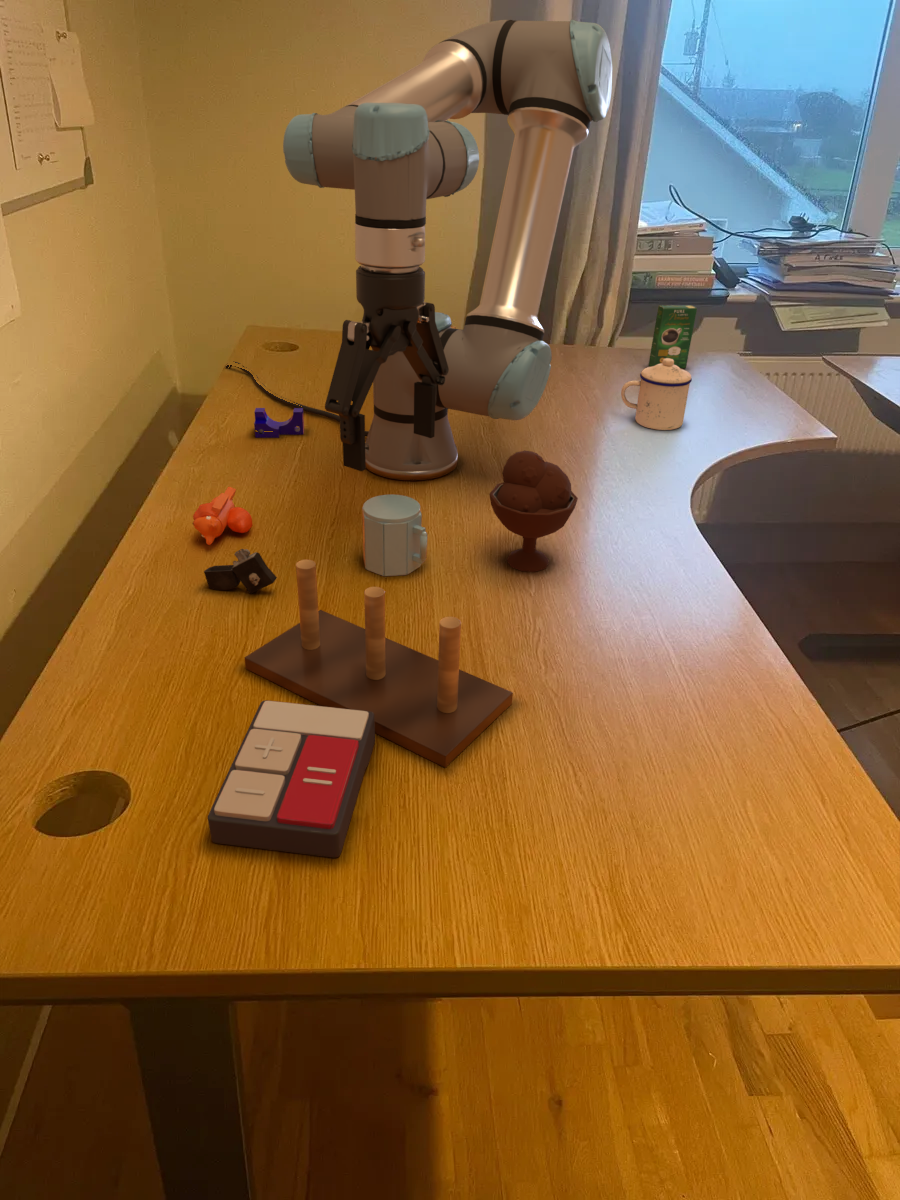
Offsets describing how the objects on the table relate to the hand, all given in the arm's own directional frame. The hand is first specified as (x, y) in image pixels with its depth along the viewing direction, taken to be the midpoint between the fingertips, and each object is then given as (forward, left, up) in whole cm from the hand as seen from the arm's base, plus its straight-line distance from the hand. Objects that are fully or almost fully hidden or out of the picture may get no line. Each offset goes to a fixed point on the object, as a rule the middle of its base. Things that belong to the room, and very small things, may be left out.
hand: (390, 450), depth 107 cm
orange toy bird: (-23, -7, -16) cm, 29 cm away
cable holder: (-43, +24, -16) cm, 52 cm away
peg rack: (+15, -22, -16) cm, 31 cm away
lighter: (-10, -17, -16) cm, 25 cm away
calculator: (+19, -38, -16) cm, 45 cm away
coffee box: (-6, +105, -16) cm, 107 cm away
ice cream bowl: (+14, +11, -16) cm, 24 cm away
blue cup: (0, 0, -16) cm, 16 cm away
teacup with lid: (+5, +71, -16) cm, 73 cm away
